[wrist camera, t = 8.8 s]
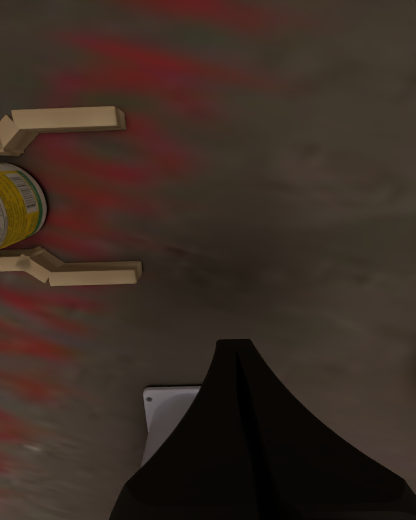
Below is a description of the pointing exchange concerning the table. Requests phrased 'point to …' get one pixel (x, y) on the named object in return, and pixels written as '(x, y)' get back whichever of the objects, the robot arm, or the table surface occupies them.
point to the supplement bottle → (19, 205)
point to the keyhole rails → (38, 259)
